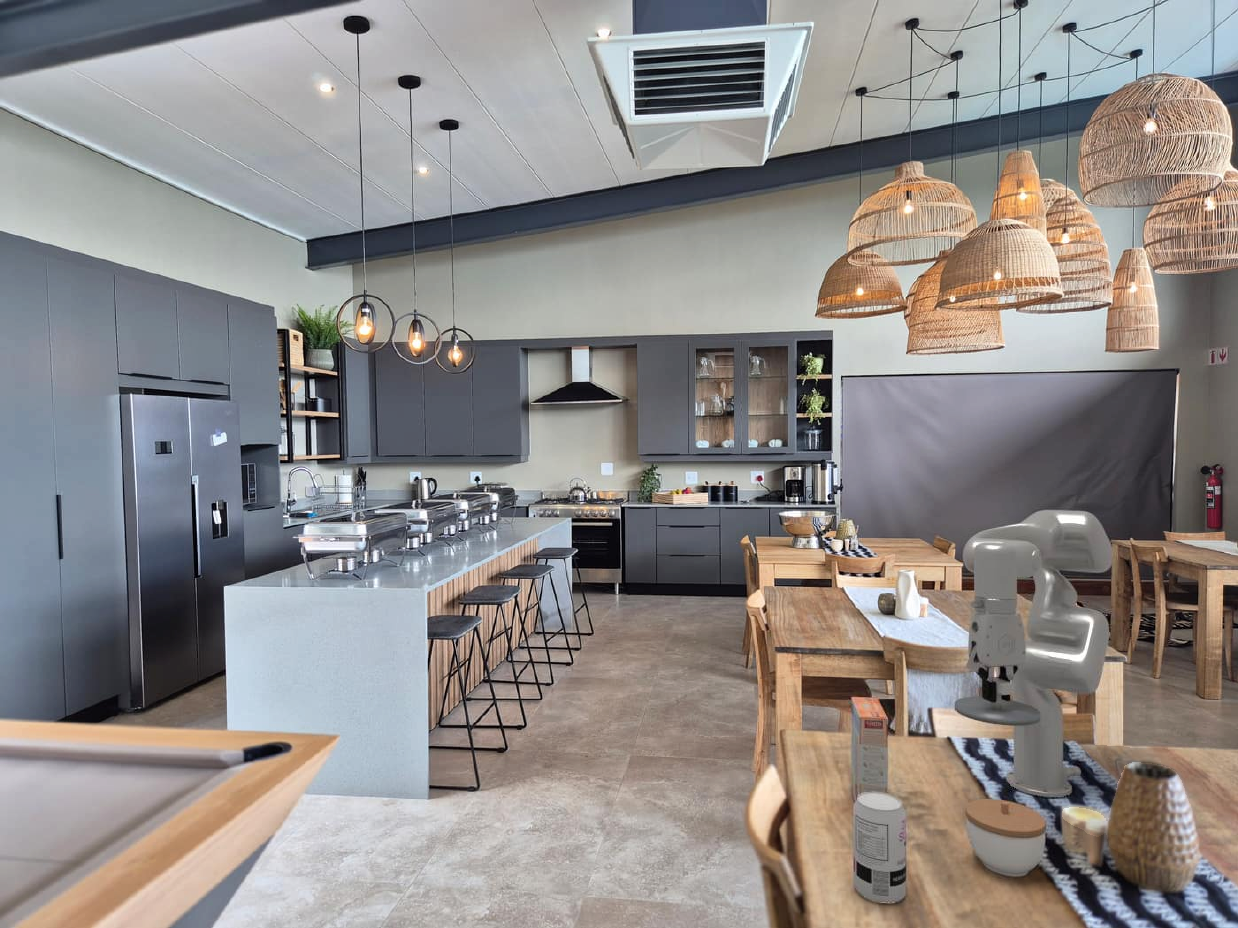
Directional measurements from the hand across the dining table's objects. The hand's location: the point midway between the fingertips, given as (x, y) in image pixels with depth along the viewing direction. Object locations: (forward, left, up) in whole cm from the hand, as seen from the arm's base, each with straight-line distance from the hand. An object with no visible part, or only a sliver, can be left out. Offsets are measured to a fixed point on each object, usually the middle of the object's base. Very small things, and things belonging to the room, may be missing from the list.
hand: (996, 698), depth 147 cm
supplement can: (+36, +15, -25) cm, 46 cm away
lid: (0, 0, -3) cm, 3 cm away
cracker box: (+20, -13, -25) cm, 34 cm away
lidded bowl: (+10, +13, -25) cm, 30 cm away
